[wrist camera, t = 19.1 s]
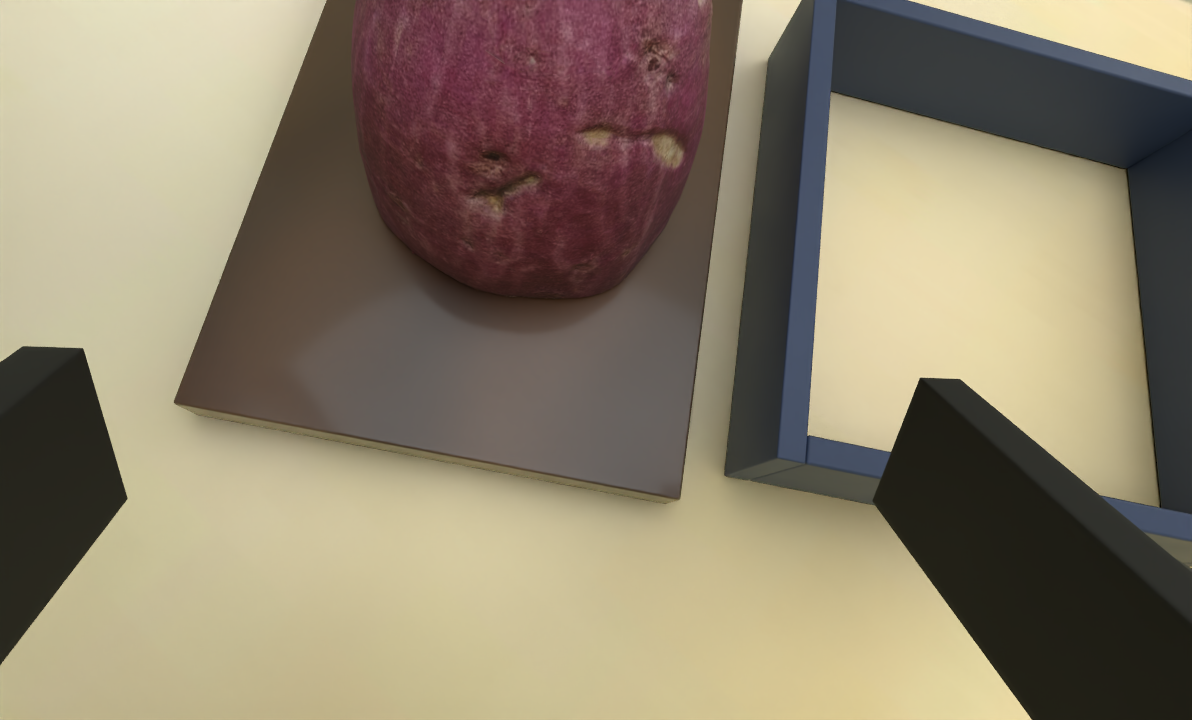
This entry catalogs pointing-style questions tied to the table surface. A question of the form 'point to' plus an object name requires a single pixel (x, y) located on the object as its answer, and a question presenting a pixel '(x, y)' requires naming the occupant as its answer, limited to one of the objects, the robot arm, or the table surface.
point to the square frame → (988, 103)
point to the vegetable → (530, 132)
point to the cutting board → (451, 316)
